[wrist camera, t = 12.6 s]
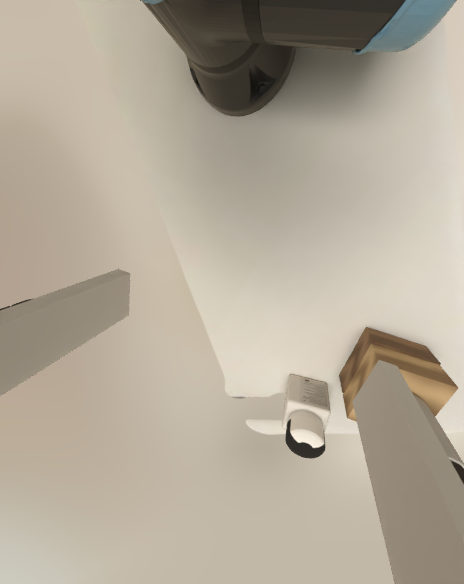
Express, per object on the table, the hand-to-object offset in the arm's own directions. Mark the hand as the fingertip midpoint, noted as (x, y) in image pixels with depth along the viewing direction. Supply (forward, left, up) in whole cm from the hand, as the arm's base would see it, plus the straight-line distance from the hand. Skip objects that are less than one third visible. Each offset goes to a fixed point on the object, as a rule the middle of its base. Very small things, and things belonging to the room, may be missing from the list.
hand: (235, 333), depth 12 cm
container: (+30, +14, -32) cm, 46 cm away
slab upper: (+17, +24, -27) cm, 40 cm away
